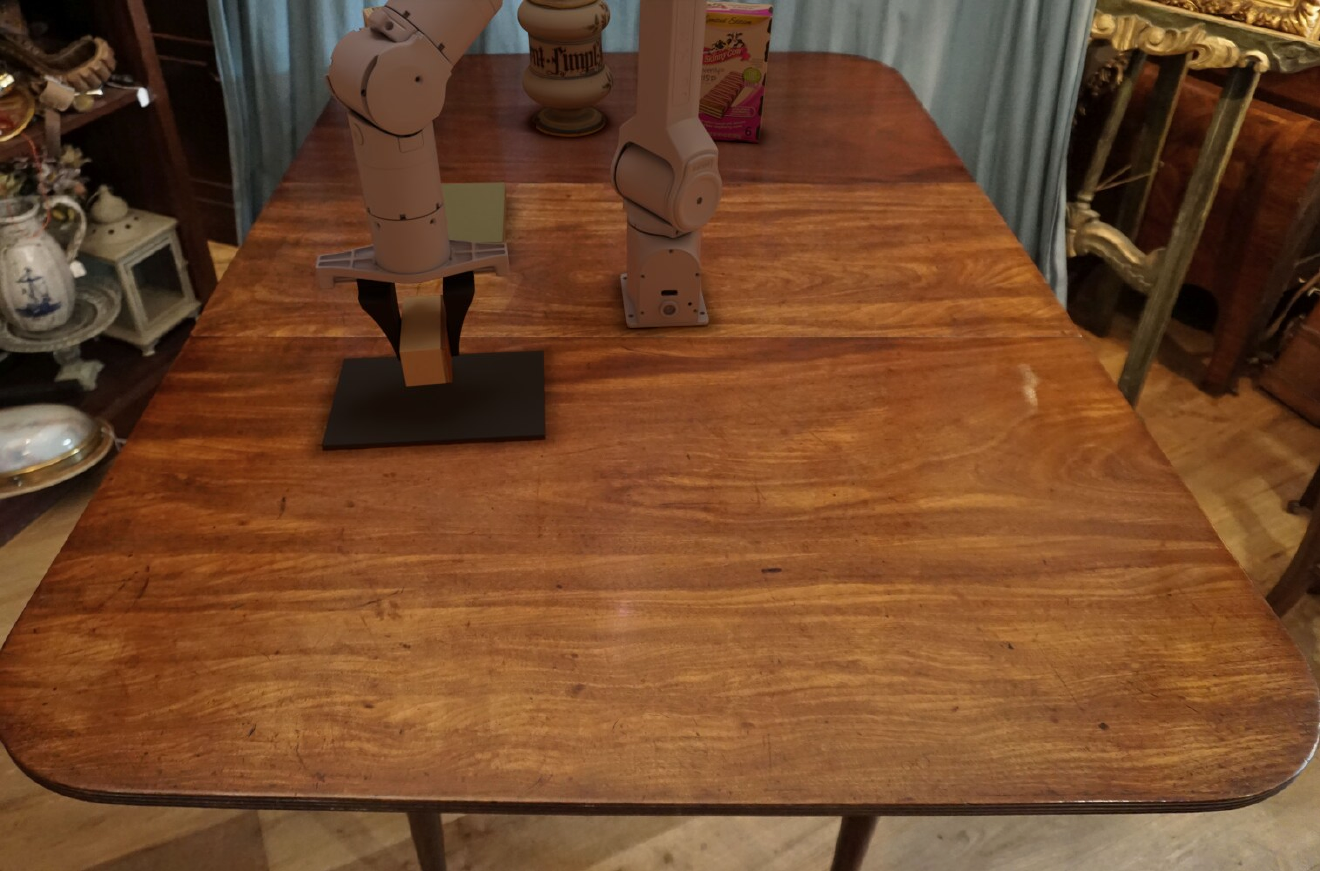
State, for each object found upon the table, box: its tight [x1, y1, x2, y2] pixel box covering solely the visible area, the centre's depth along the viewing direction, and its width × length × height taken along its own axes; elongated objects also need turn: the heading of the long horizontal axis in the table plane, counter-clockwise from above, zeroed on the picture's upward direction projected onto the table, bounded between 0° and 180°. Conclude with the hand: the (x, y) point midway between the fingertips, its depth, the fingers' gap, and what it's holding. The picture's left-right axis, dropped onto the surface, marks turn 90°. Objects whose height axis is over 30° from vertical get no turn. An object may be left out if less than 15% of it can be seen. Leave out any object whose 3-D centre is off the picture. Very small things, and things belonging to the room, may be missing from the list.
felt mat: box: [321, 350, 546, 451], centre depth 81 cm, size 12×18×1 cm, turn 96°
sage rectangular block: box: [441, 181, 508, 243], centre depth 103 cm, size 14×10×2 cm
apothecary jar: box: [516, 0, 614, 138], centre depth 122 cm, size 12×12×18 cm
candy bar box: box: [698, 0, 774, 143], centre depth 120 cm, size 11×5×16 cm, turn 84°
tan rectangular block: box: [400, 294, 452, 386], centre depth 78 cm, size 8×4×4 cm, turn 10°
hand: (429, 351), depth 78 cm, fingers closed on tan rectangular block, 4 cm apart
